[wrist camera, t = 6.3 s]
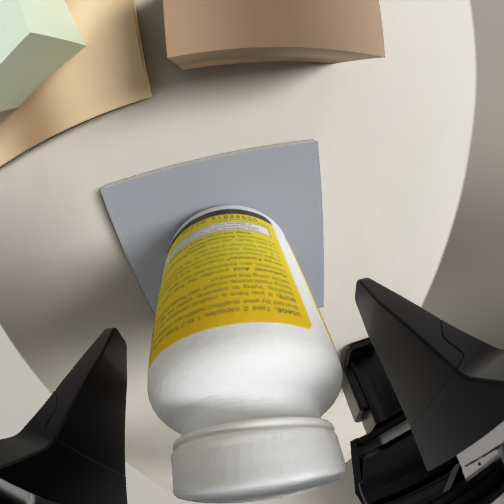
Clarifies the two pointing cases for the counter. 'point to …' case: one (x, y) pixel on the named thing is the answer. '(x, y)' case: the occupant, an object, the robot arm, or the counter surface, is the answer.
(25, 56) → the sage cube
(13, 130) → the cork coaster
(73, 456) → the robot arm
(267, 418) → the supplement bottle
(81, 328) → the counter surface
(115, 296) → the counter surface
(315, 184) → the slate coaster
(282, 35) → the walnut block
